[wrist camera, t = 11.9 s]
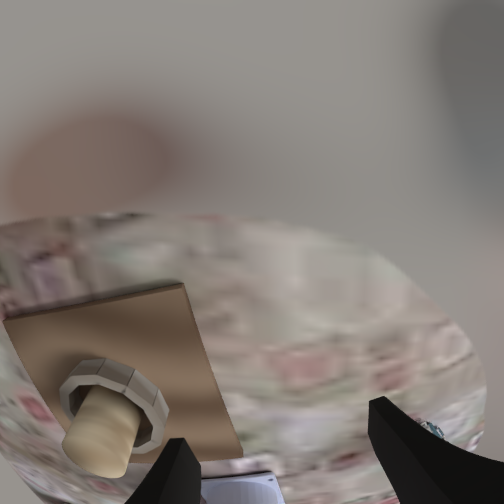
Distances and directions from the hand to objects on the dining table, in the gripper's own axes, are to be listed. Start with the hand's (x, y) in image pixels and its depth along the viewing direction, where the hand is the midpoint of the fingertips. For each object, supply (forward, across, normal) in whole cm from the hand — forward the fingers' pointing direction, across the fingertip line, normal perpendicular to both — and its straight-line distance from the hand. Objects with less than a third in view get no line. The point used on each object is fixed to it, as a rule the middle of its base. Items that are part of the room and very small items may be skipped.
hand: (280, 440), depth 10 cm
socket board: (+9, +12, +4) cm, 16 cm away
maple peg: (+9, +12, +4) cm, 15 cm away
